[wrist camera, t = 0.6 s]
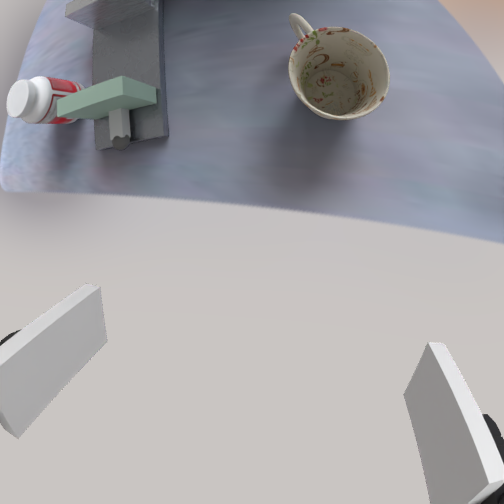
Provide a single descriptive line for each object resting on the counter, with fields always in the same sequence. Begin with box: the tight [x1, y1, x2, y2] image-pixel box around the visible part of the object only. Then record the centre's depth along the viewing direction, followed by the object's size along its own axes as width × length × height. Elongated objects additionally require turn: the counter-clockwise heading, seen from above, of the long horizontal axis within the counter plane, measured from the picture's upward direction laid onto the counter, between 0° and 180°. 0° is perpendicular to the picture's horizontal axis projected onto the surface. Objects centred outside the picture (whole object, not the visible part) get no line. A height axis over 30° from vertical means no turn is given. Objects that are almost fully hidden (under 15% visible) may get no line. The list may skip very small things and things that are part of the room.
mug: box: [288, 13, 390, 120], centre depth 25 cm, size 8×13×10 cm, turn 32°
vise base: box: [65, 0, 169, 150], centre depth 29 cm, size 20×10×8 cm, turn 5°
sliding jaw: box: [57, 76, 157, 150], centre depth 30 cm, size 7×9×8 cm
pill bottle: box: [7, 76, 85, 124], centre depth 30 cm, size 6×6×11 cm
